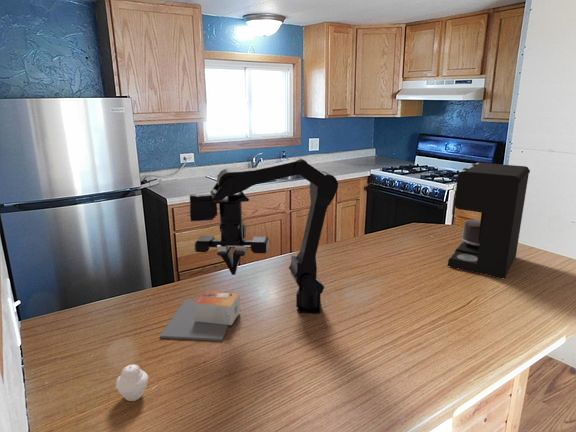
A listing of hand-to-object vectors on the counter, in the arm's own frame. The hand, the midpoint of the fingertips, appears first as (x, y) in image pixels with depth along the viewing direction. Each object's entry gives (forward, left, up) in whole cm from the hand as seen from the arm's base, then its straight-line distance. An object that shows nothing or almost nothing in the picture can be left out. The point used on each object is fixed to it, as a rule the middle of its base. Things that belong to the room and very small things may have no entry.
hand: (233, 274), depth 111 cm
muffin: (+14, +33, -13) cm, 38 cm away
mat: (+9, +2, -13) cm, 16 cm away
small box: (-1, +2, -10) cm, 10 cm away
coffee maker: (-83, -49, -13) cm, 97 cm away
